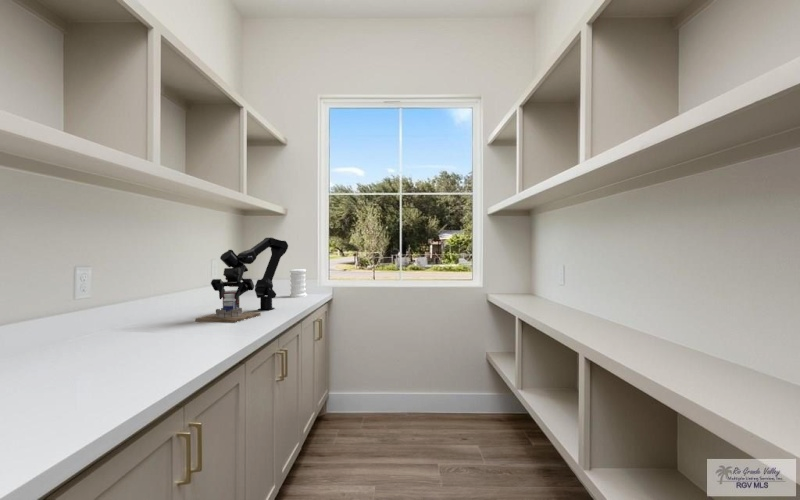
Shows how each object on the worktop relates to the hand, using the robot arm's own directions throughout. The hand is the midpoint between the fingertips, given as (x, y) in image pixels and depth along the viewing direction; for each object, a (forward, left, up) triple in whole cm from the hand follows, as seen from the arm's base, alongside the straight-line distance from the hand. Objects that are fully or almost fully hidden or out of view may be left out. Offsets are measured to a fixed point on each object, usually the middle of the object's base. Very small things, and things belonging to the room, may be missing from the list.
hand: (227, 298), depth 192 cm
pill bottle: (-1, 0, -8) cm, 8 cm away
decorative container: (-93, -11, -9) cm, 94 cm away
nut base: (-1, 0, -9) cm, 9 cm away
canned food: (-17, -10, -9) cm, 22 cm away
